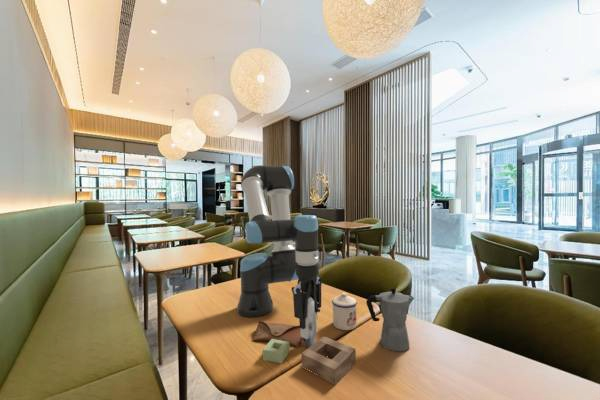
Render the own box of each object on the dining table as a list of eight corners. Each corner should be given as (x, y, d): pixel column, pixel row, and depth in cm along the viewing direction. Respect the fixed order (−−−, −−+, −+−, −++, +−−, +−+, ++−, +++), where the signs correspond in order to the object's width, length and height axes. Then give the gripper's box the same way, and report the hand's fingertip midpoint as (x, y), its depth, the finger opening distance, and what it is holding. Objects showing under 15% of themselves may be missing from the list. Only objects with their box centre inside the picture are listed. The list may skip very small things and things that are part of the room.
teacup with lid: (351, 333, 88) (350, 300, 88) (328, 326, 93) (327, 295, 93) (364, 319, 98) (363, 289, 97) (342, 313, 103) (341, 285, 103)
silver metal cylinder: (300, 344, 82) (299, 296, 82) (308, 338, 85) (307, 292, 85) (310, 348, 80) (309, 299, 80) (317, 342, 83) (316, 295, 83)
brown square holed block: (301, 367, 71) (301, 353, 71) (324, 348, 79) (323, 336, 79) (335, 385, 64) (334, 369, 64) (355, 362, 72) (355, 348, 72)
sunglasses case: (248, 341, 84) (252, 319, 88) (256, 342, 90) (259, 321, 94) (301, 347, 80) (303, 324, 84) (305, 348, 86) (307, 326, 89)
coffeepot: (408, 334, 86) (407, 282, 86) (422, 351, 77) (421, 292, 77) (363, 336, 86) (362, 283, 86) (371, 353, 77) (370, 294, 76)
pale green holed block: (263, 359, 75) (262, 349, 75) (272, 348, 81) (271, 338, 81) (281, 363, 73) (281, 353, 73) (289, 351, 79) (289, 341, 79)
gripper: (299, 271, 73) (301, 351, 74) (331, 259, 86) (332, 327, 87) (280, 266, 78) (282, 342, 79) (313, 256, 91) (315, 320, 91)
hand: (309, 334), depth 83 cm, fingers closed on silver metal cylinder, 4 cm apart
